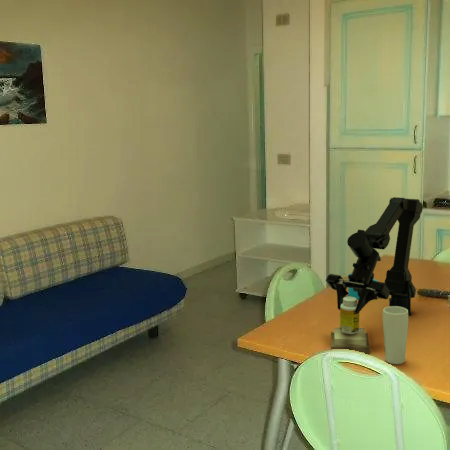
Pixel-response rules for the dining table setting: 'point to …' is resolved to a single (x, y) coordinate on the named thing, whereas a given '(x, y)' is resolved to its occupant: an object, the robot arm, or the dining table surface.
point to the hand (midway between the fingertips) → (347, 311)
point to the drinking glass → (395, 333)
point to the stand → (350, 340)
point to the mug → (354, 293)
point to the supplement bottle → (349, 316)
